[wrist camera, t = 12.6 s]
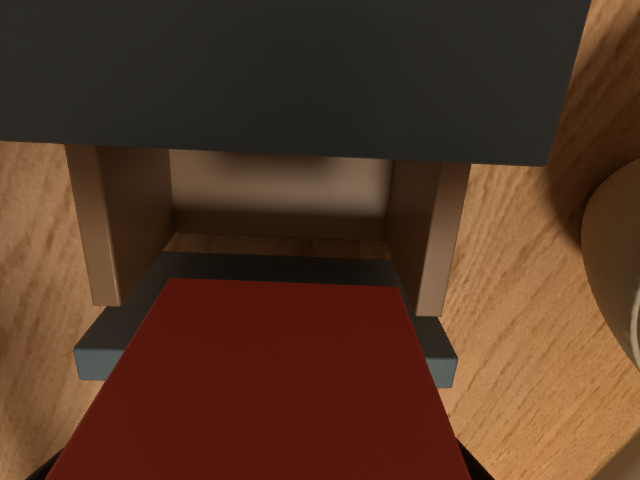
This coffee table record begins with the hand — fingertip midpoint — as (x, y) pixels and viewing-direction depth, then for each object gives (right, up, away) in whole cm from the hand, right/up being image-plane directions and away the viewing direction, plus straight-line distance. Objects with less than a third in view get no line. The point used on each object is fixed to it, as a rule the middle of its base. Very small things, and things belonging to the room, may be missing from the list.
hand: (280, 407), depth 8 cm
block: (0, 0, +1) cm, 1 cm away
